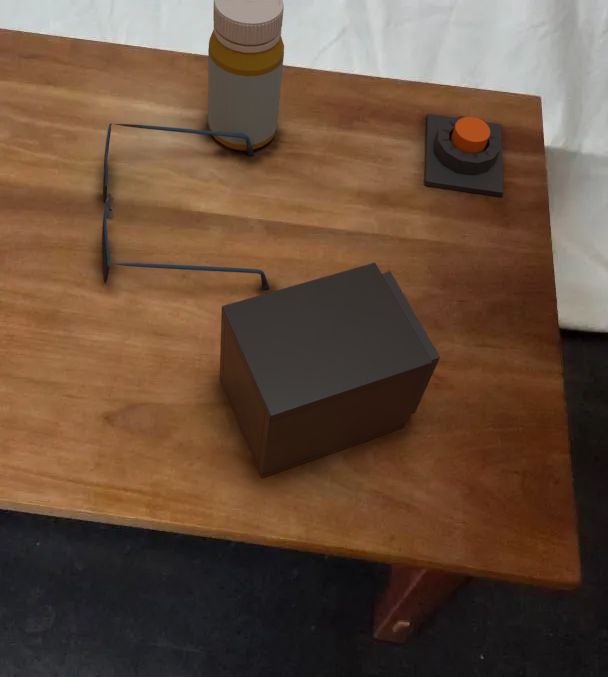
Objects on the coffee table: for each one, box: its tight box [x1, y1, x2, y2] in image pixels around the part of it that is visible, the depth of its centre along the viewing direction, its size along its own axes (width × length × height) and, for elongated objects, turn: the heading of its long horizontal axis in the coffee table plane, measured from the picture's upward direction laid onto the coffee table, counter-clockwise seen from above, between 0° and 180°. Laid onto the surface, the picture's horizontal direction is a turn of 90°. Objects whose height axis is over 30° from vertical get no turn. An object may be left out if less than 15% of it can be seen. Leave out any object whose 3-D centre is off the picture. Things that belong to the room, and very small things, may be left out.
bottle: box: [207, 0, 285, 152], centre depth 79 cm, size 7×7×15 cm
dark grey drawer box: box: [219, 262, 432, 479], centre depth 64 cm, size 13×10×11 cm
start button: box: [451, 116, 490, 154], centre depth 84 cm, size 4×4×2 cm
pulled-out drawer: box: [382, 271, 441, 416], centre depth 65 cm, size 13×8×9 cm, turn 113°
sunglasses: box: [101, 123, 270, 290], centre depth 76 cm, size 17×15×5 cm
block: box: [423, 113, 505, 198], centre depth 85 cm, size 10×8×2 cm
